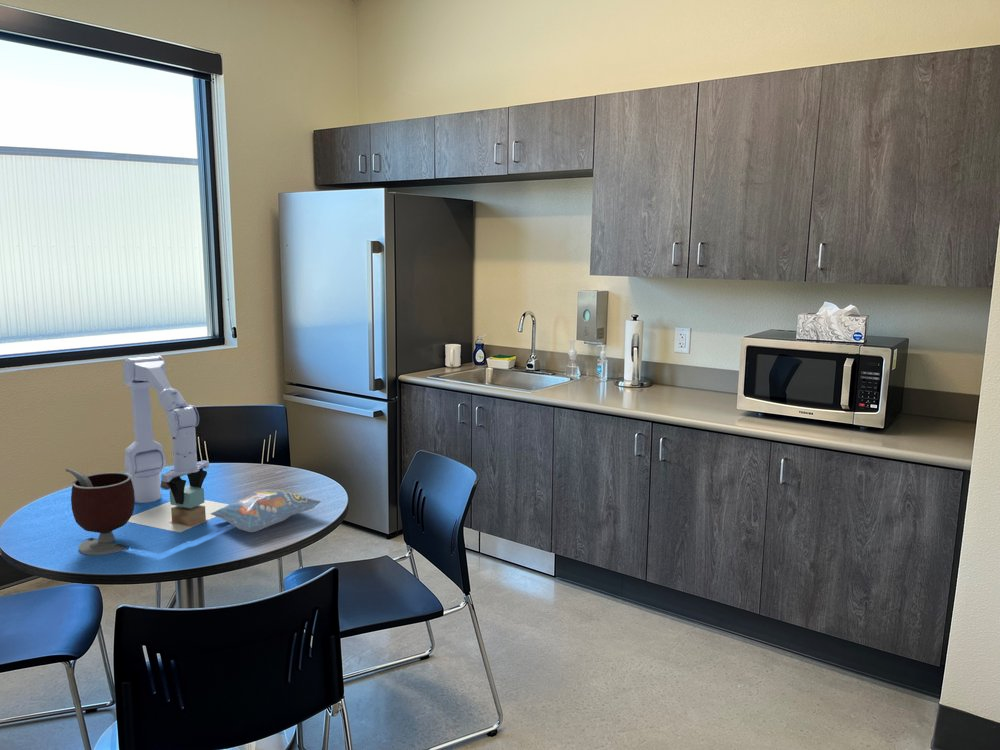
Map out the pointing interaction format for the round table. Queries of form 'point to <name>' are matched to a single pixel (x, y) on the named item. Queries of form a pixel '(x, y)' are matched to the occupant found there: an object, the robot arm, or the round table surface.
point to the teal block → (190, 497)
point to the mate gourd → (102, 508)
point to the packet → (264, 509)
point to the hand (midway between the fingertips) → (187, 500)
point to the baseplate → (163, 517)
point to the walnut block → (188, 515)
